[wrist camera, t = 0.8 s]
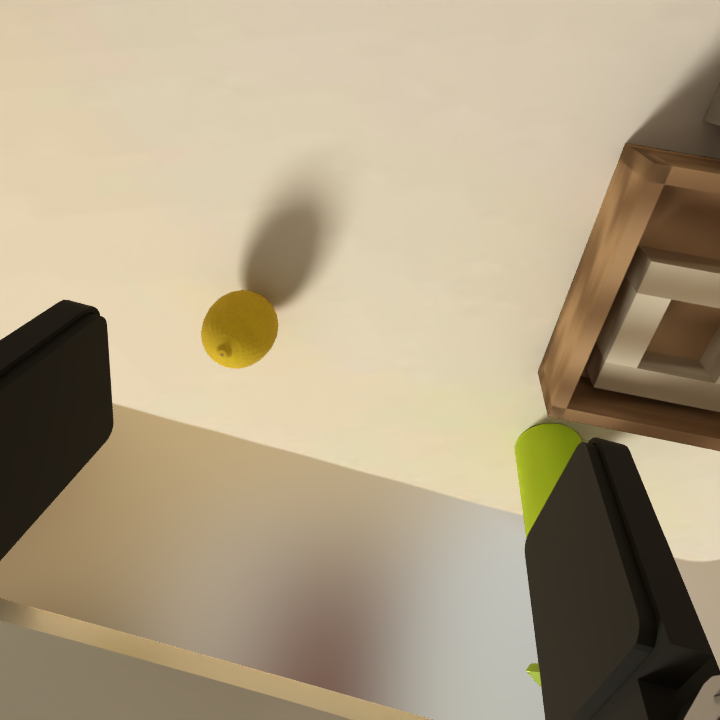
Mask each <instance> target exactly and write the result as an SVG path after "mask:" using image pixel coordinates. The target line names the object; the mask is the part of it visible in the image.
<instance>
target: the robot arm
mask: <svg viewBox="0 0 720 720" xmlns="http://www.w3.org/2000/svg"><path fill="white" fill-rule="evenodd" d="M112 428H113V409H112V394H111V379H110V364H109V349H108V333H107V323H106V320H105V318H104V317H102V316H100V313H99V311H98V309H96V308H95V307H93V306H89V305H85V304H81V303H77V302H73V301H70V300H62V301H60V302H58V303H57V304H55V305H54V306H52V307H51V308H49V309H48V310H46V311H44V312H43V313H41V314H40V315H38V316H37V317H35V318H34V319H32V320H31V321H29V322H28V323H26V324H25V325H23V326H21V327H20V328H18V329H17V330H15V331H14V332H12V333H11V334H9V335H8V336H6V337H5V338H3V339H1V340H0V561H1V559H2V558H3V557H4V556H5V555H6V554H7V553H8V551H9V550H10V549H11V548H12V547H13V546H14V545H15V544H16V542H17V541H18V540H19V539H20V538H21V537H22V536H23V534H24V533H25V532H26V531H27V530H28V529H29V528H30V526H31V525H32V524H33V523H34V522H35V521H36V520H37V519H38V518H39V516H40V515H41V514H42V513H43V512H44V511H45V509H47V507H48V506H49V505H50V504H51V503H52V502H53V501H54V500H55V498H56V497H57V496H58V495H59V494H60V492H62V490H63V489H64V488H65V487H66V486H67V485H68V484H69V483H70V481H71V480H72V479H73V478H74V477H75V476H76V475H77V473H78V472H79V471H80V470H81V469H82V468H83V467H84V465H85V464H86V463H87V462H88V461H89V460H90V459H91V458H92V456H94V454H95V453H96V452H97V451H98V450H99V449H100V448H101V446H102V445H103V444H104V443H105V442H106V441H107V439H108V438H109V436H110V434H111V432H112ZM525 558H526V566H527V574H528V582H529V590H530V598H531V607H532V615H533V623H534V630H535V639H536V646H537V654H538V663H539V671H540V679H541V687H542V695H543V703H544V712H545V720H720V670H719V667H718V665H717V662H716V660H715V657H714V655H713V653H712V650H711V648H710V645H709V643H708V640H707V638H706V635H705V633H704V631H703V628H702V626H701V623H700V621H699V619H698V616H697V614H696V611H695V609H694V606H693V604H692V601H691V599H690V597H689V594H688V592H687V589H686V587H685V584H684V582H683V579H682V577H681V575H680V572H679V570H678V567H677V565H676V562H675V560H674V557H673V555H672V553H671V550H670V548H669V545H668V543H667V540H666V538H665V536H664V534H663V531H662V529H661V526H660V524H659V521H658V519H657V517H656V514H655V512H654V509H653V507H652V504H651V502H650V499H649V497H648V495H647V492H646V490H645V487H644V485H643V482H642V480H641V477H640V475H639V473H638V470H637V468H636V465H635V463H634V460H633V458H632V455H631V453H630V451H629V449H628V447H627V446H625V445H623V444H619V443H615V442H611V441H607V440H604V439H600V438H592V439H591V440H590V441H589V442H588V443H585V442H581V443H580V444H578V446H577V447H576V449H575V451H574V452H573V454H572V456H571V458H570V460H569V461H568V463H567V465H566V467H565V469H564V470H563V472H562V474H561V476H560V478H559V479H558V481H557V483H556V485H555V487H554V488H553V490H552V492H551V494H550V496H549V497H548V499H547V501H546V503H545V505H544V506H543V508H542V510H541V512H540V513H539V515H538V517H537V519H536V521H535V522H534V524H533V526H532V528H531V530H530V531H529V533H528V536H527V539H526V543H525ZM0 720H431V719H428V718H425V717H421V716H417V715H414V714H411V713H407V712H404V711H400V710H397V709H393V708H390V707H386V706H383V705H379V704H376V703H372V702H369V701H365V700H361V699H358V698H355V697H351V696H348V695H345V694H341V693H337V692H334V691H331V690H327V689H323V688H320V687H316V686H313V685H309V684H306V683H302V682H299V681H295V680H292V679H288V678H285V677H281V676H278V675H274V674H270V673H267V672H263V671H260V670H256V669H253V668H249V667H246V666H242V665H238V664H235V663H232V662H228V661H224V660H221V659H217V658H214V657H210V656H207V655H203V654H199V653H196V652H192V651H189V650H185V649H182V648H178V647H174V646H171V645H167V644H164V643H160V642H156V641H153V640H149V639H146V638H142V637H139V636H135V635H131V634H128V633H124V632H121V631H117V630H113V629H110V628H106V627H103V626H99V625H95V624H91V623H88V622H84V621H80V620H77V619H74V618H70V617H66V616H63V615H59V614H55V613H51V612H48V611H45V610H41V609H37V608H34V607H30V606H26V605H23V604H19V603H15V602H12V601H8V600H4V599H1V598H0Z"/></svg>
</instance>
